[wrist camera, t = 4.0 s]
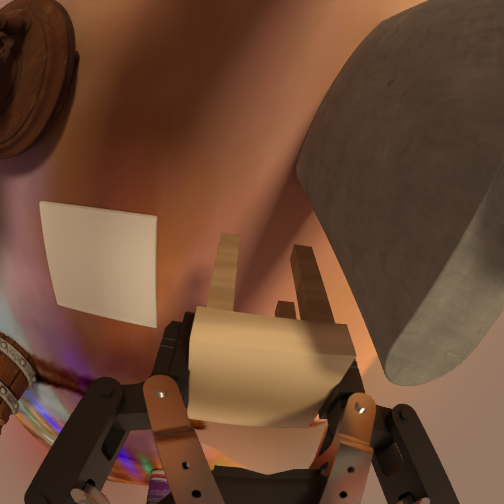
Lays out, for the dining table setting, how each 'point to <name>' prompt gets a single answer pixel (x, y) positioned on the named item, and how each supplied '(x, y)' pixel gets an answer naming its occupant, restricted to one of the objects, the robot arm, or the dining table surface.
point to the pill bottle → (157, 487)
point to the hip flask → (417, 182)
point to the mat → (102, 261)
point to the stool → (265, 350)
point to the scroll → (33, 70)
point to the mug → (13, 376)
